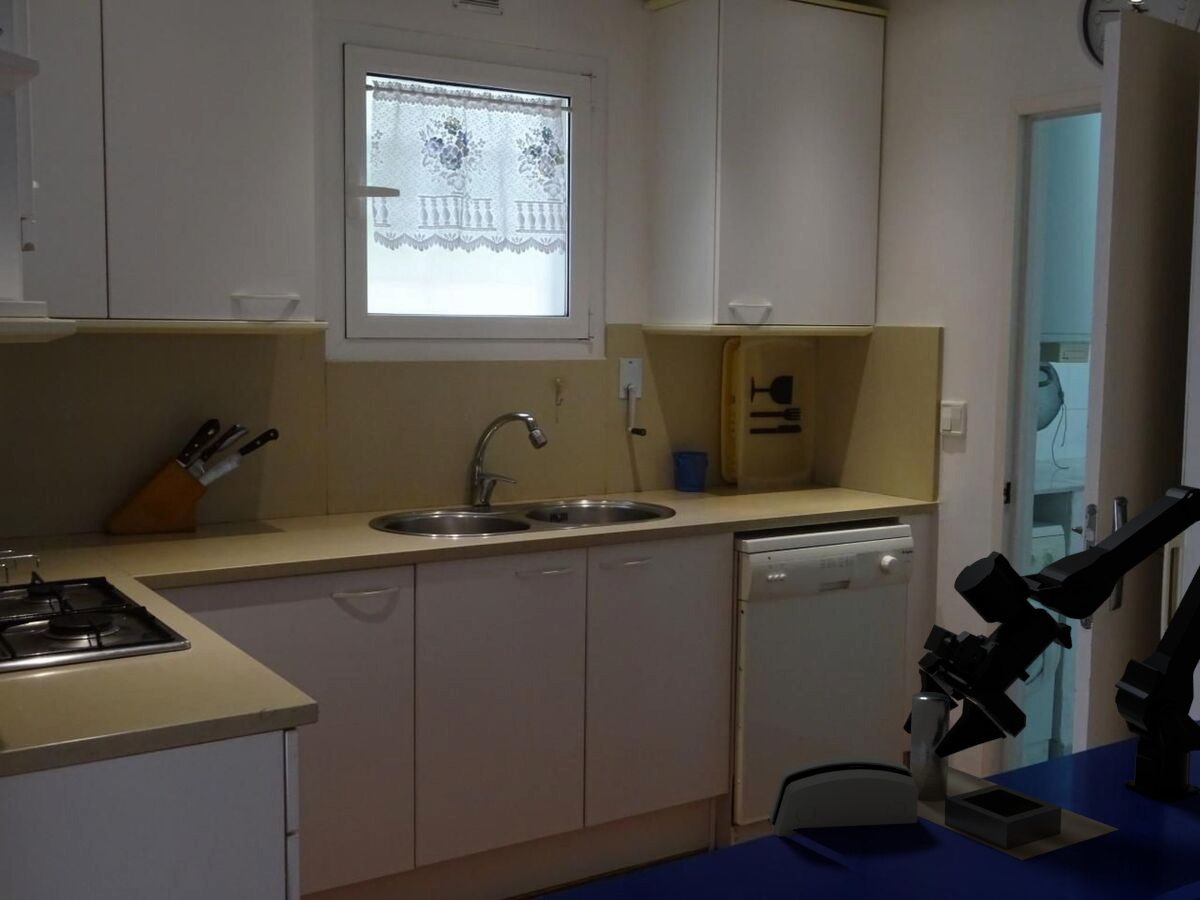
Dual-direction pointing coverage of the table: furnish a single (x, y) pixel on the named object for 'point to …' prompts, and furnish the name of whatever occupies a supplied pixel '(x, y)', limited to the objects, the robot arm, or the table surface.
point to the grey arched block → (844, 795)
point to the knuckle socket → (1003, 816)
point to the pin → (929, 744)
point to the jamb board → (961, 782)
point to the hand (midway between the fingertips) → (921, 743)
